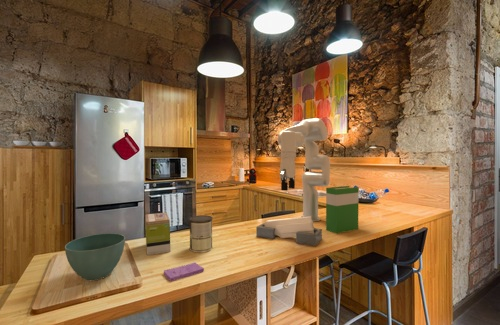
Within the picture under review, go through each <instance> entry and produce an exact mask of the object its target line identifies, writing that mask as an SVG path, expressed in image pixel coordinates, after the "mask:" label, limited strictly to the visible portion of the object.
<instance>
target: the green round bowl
mask: <svg viewBox="0 0 500 325" xmlns="http://www.w3.org/2000/svg"><path fill="white" fill-rule="evenodd" d="M125 243H126V236H125V235H123V234H121V233H115V232H113V233H112V232H110V233H105V232H104V233H96V234H91V235H86V236H82V237H79V238H76V239H72V240H71V241H69V242H67V244H65V245H64V251H65V256H66V257H65V258H66V259H67V262H68V264H69V265H70V267H71V269H72V271H74V272H75V273H76V275H77V276H79V277H80V278H81V279H83V280H84V281H90V280H91V281H98V280H101V278H102V279H104V278H106V277H108V276H109V275H111V273H112V272H113V271H114V269H115V268H116V266H117V265H118V264H119V262H120V260H121V257H122V255H123V252H124V248H125V245H126V244H125ZM103 277H104V278H103ZM97 279H98V280H97Z"/></svg>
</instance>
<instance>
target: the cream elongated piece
mask: <svg viewBox="0 0 500 325" xmlns="http://www.w3.org/2000/svg"><path fill="white" fill-rule="evenodd" d="M263 223H264V225H265V227H270V228H275V236H278V237H279V238H280V239H285V238H296V233H297V232H305V233H312V234H314V228H315V227H314V226H315V225H314V222H313V221H312V219H311V216H310V217H302V216H300V217H289V218H279V219H278V218H277V219H268V220H265V221H264V222H263Z"/></svg>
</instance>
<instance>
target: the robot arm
mask: <svg viewBox="0 0 500 325" xmlns="http://www.w3.org/2000/svg"><path fill="white" fill-rule="evenodd" d="M328 132H329V131H328V128H327V126H326V124H325V122H324V121H323V120H322V119H321V118H306V119H302V120H301V121H300V122H299V123H298V124H296V125H293V126H290V127H288V128H285V129H283V130H281V131H280V132H279V133H278V135H277V144H278V145H279V146H280V164H279V167H280V168H279V177H280V183H281V186H280V187H281V188H280V189H281V191H283V192H284V191H288V189H292V190H293V189H295V187H296V186H295V185H296V183H295V182H296V179H295V178H296V162H295V161H296V159H297V156H296V155H297V147H301V146H303V145H304V148H305V155H304V167H305V168H306V169H307V170H313V171H304V172H303V173H302V174H301V182H302V200H303V201H302V203H303V204H302V216H301V217H310V216H311V219H312V221H313V223H314V222H319V221H321V217H320V216H319V192H318V190H317V188H316V187H320V188H321V187H324V188H325V187H326V188H327V187H328V186H329V185H330V178H331V177H330V176H331V159H330V156H328V155H325V154H319V151H320V150H319V149H320V147H319V146H318V144H317V143H316V142H318V141H319V142H320V141H326V140H327V139H328V136H329V133H328ZM315 141H316V142H315ZM314 170H318V171H314Z"/></svg>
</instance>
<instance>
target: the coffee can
mask: <svg viewBox="0 0 500 325" xmlns="http://www.w3.org/2000/svg"><path fill="white" fill-rule="evenodd" d="M189 246H190V247H189V251H191V252H193V253H199V254H200V253H206V252H209V251H211V250H212V249H213V216H211V215H205V214H203V215H202V214H200V215H194V216H191V217H189Z"/></svg>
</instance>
